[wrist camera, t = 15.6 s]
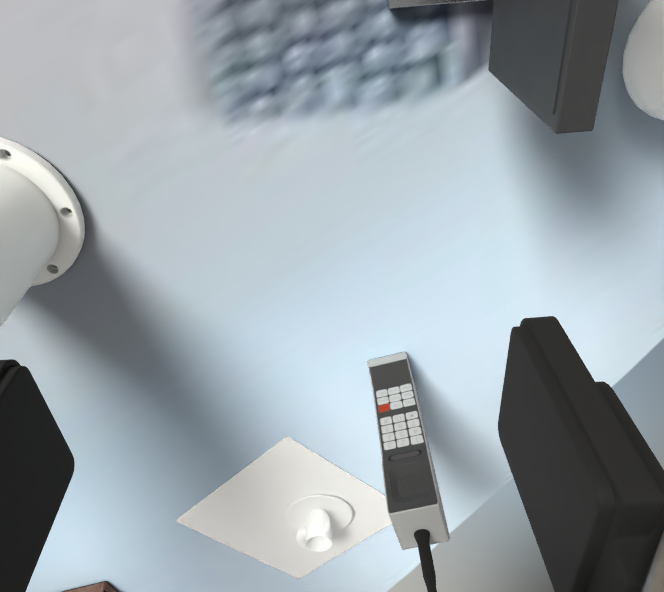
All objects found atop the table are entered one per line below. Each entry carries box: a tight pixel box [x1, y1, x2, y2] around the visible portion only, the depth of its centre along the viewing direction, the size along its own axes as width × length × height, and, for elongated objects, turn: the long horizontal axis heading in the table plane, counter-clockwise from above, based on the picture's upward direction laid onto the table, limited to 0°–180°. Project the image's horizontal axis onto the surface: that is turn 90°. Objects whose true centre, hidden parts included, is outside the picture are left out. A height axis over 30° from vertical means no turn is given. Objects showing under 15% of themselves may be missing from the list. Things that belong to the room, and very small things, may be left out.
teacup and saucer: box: [284, 494, 353, 553], centre depth 66 cm, size 9×8×4 cm
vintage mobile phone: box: [368, 352, 450, 592], centre depth 45 cm, size 4×5×25 cm
